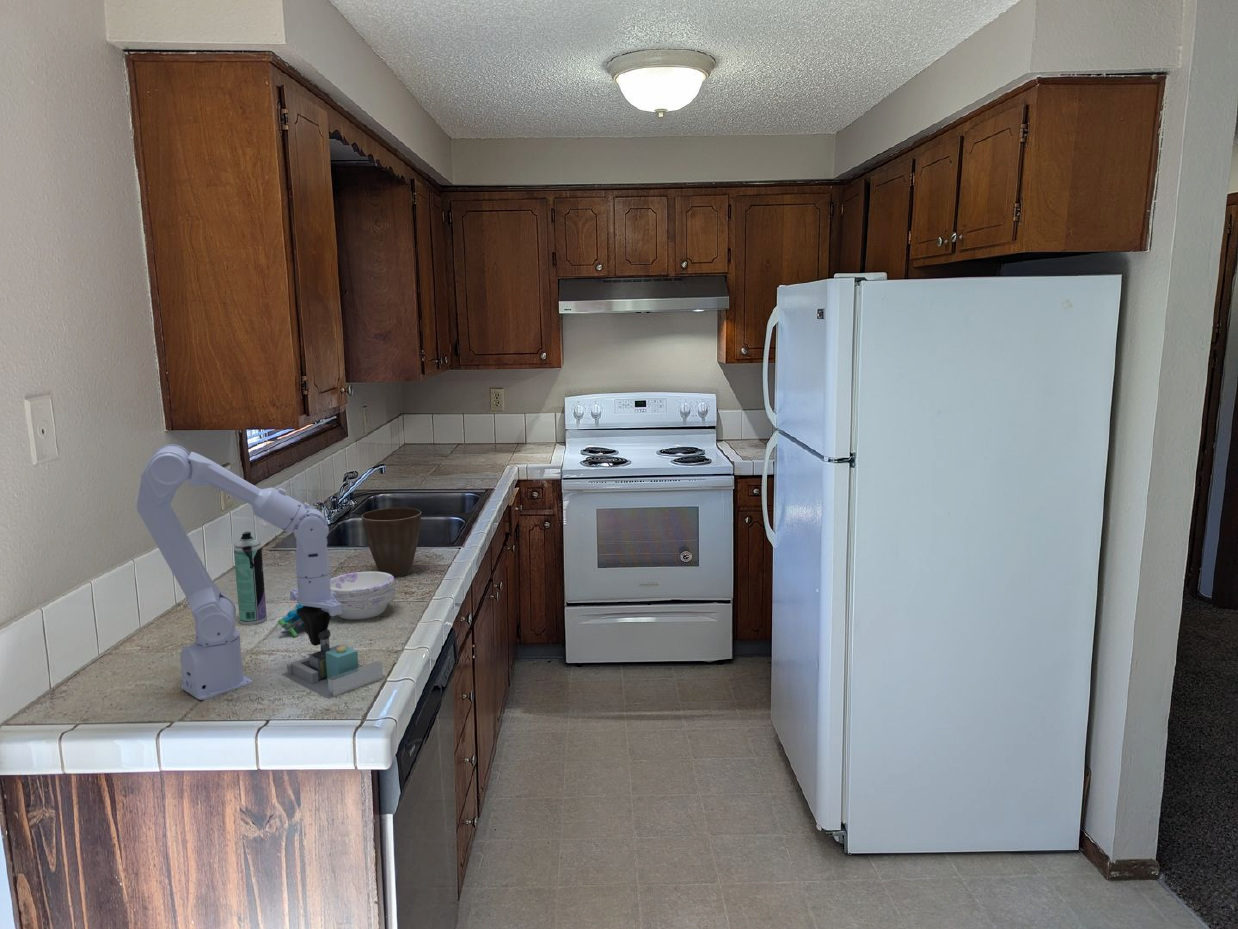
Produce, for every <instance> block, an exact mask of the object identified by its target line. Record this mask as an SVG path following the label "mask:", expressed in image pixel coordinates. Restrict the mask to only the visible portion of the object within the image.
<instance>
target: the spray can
mask: <svg viewBox="0 0 1238 929" xmlns="http://www.w3.org/2000/svg"><path fill="white" fill-rule="evenodd" d="M262 552H263V550H262V544H261V541H260V540H257V539H256V538H255V537H254V536H253V535H252V533H251V531H244V532H242V534H241V537H240V538H239V540H237V542H235V543H234V544H233V554H234V555H233V556H234V569H235V570H234V571H235V579H236V582H235V583H236V593H237V594H236V595H237V605H238V615H239V616H238V619H239V623H240V624H241V625H243V626H254V625H259V624H262V623H265V622H267V604H266V603H267V602H266V592H265V577H264V563H263V553H262Z"/></svg>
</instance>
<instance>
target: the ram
mask: <svg viewBox="0 0 1238 929" xmlns="http://www.w3.org/2000/svg"><path fill="white" fill-rule="evenodd" d="M318 637H319V638H320V651H316V652H313V653H310V654H309V655H308V658H309V661H310V668H311V669H313V670H315V671H317V672H318V677H319V680H320V679H323V678H325V677H327V668H326V652H327V651H330V650H333V649H336V648H337V647H338V646H340V645H335V646H332V647H330V646H331V645H330V637H331V631H330V629H328V628H323V629H321V630H320V631H319V632H318Z"/></svg>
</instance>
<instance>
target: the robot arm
mask: <svg viewBox="0 0 1238 929" xmlns="http://www.w3.org/2000/svg"><path fill="white" fill-rule="evenodd" d="M140 477H141V478H140V485H139V490H138V496H137V501H136V509H137V512H138V515H139V516H140V518H141V520H142V521H143V523H144V525H145V526H146V529H147V530H148V531H149V533H150V536H151V537H152V539H153V540H154V542H155V545H156V546H157V548H158V550H159V551H160V553H161V555H162V556H163V558H164V561H165V562H166V563H167V565H168V567H169V569H170V570H171V573H172V574H173V576H174V578H175V580H176V581H177V583H178V585H179V586H180V589H181V590H182V592H183V593H184V596H185V598H186V599H187V604H188V606H189V610H190V613H191V614H192V617H193V619H194V624H195V625H194V630H195V634H196V635H195V638H194V642H192V643H191V644H189V645H187V646H185V647H183V648H182V649H181V650H180V655H179V657H180V668H181V679H182V680H181V681H182V685H181V689H182V690H183V691H185V692H186V693H188V694H189V695H191V696H192V697H194V698H196V699H198V700H200V701H204V700H207V699H209V698H211V697H215V696H218V695H222V694H224V693H227V692H230V691H233V690H237V689H239V688H242V687H244V686H249V685H250V684H253V683H254V680H252V679H251V678H249V677H247V676H245V675H244V673H243V671H244V670H243V660H242V659H243V658H242V648H241V646H242V645H241V635H240V631H239V630H238V629H236V620H235V616H236V612H237V608H236V605H235V602H233V600H232V599H230V598H229V597H228V596H226V595H225V594H224V593H223V592H222V590H221V589H220V587H219V586H218V585H217V584H216V583H215V582H214V581H213V579H212V577H211V575H210V574H209V572H208V571H207V568H206V566H205V565H204V563H203V561H202V560H201V557H200V555H199V554H198V552H197V551H196V549H195V546H194V545H193V543H192V541H191V539H190V537H189V536H188V534H187V532H186V530H185V529H184V526H183V525H182V523H181V521H180V519H179V517H178V516H177V513H176V512H175V510H174V509H173V506H172V502H173V499H174V497H175V495H176V492H177V491H178V489H180V488H181V487H182V486H183V484H184V483H185V482H186V481H187V480H190V481H189V483H188V484H189V487H194V486H204V485H207V486H208V485H209V486H211V487H213V488H215V489H218V490H219V491H222V492H224V493H225V494H228V495H229V496H232V497H234V498H236V499H238V500H239V501H242V502H244V503H246V504H249V505H250V506H251V508H252V513H253V515H254V516H256V517H258V518H259V519H261V520H264V521H265V522H266V523H269V524H271V525H273V526H275V527H277V528H279V529H281V530H283V531H284V532H287V533H289V532H290V533H293V535H294V537H295V541H296V549H295V564H296V580H297V588H292V589H290V590H289V596H290V598H289V599H290V601H296V602H297V604H298V605H299V604H300V605H303V607H302V608H299V609H297V608H296V609H297V614H298V615H299V616H300V618H301V619H302V621H303V622H302V623H303V625H304V627H305V630H306V633H307V635H308V639H309V642H310V644H311V646H312V645H313V646H314V647H316V646H319V645H320V638H319V637H318V632H319V631H320V630H321V629H323V628H327V629H328V628H329V625H330V621H331V619H332V617H335V616H338V615H339V614H342V606H341V603H339V602H337V600H336V599H335V598H334V597H335V596H336V592H334V591H331V585H330V579H331V574H330V573H331V572H330V555H329V548H328V538H327V537H328V535H329V532H330V528H329V527H328V522H327V520H326V518H325V515H324V514H323V513H322V512H321V511H320V510H319V509H318V508H317V507H316V506H310V504H309V503H308V502H305V501H304V503H302V502H300V501H298V500H296V499H295V498H293V497H291V496H289V495H287V494H286V493H287V491H286V490H285V489H284V488H282V487H279V488H278V489H276V488H274V487H265V488H259V487H258V486H256V485H254V484H252V483H251V482H249V481H248V480H245V479H244V478H242V477H240V476H239V475H237V474H235V473H234V472H232V471H230V470H229V469H227V468H225V467H223V466H222V465H220V464H218V463H217V462H215V461H213V460H211V459H209V458H208V457H205V456H204V455H202V454H200V453H197V452H194V451H191V452H189V451H188V449H186V448H184V447H183V446H181V445H179V444H178V445H177V444H167V445H162V446H161V447H159V448H158V449H157V450H156V451H155V453H154V454H153V456H152V457H151V458H150V459H149V461H148V463H147V464H146V466H145V467H144V469H143V471H142V473H141V475H140Z"/></svg>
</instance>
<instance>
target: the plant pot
mask: <svg viewBox="0 0 1238 929" xmlns="http://www.w3.org/2000/svg"><path fill="white" fill-rule="evenodd" d="M421 517H422V511H421V510H419V509H416V508H411V507H389V508H379V509H373V510H371V511H366V512H364V513H363V514H361V521H362V525H363V530H364V533H365V538H366V541H367V543H368V547H369V551H370V553H371V556H372V559H373V561H374V563H375V566H376V567H377V570H378V572H384V573H388V574H391V575H392V576H393V577H394V578H399V577H403V576H407V575H409V574H410V572H411V569H412V567H413V563H414V560H415V555H416V552H417V548H418V542H419V535H420V529H421V520H422V518H421ZM406 574H407V575H406Z"/></svg>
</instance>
